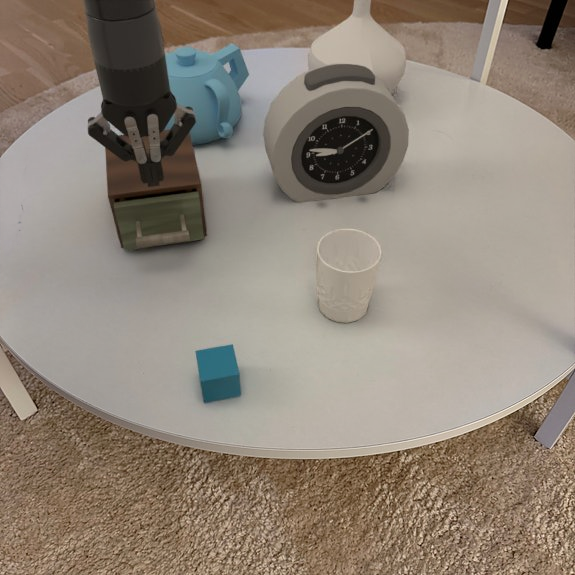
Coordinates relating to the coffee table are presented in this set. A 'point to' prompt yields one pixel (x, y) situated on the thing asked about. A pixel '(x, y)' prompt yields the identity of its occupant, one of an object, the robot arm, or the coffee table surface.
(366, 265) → the white cup
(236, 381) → the blue block
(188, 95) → the teapot
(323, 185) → the alarm clock
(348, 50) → the vase
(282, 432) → the coffee table surface
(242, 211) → the coffee table surface
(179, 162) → the cabinet
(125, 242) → the drawer
